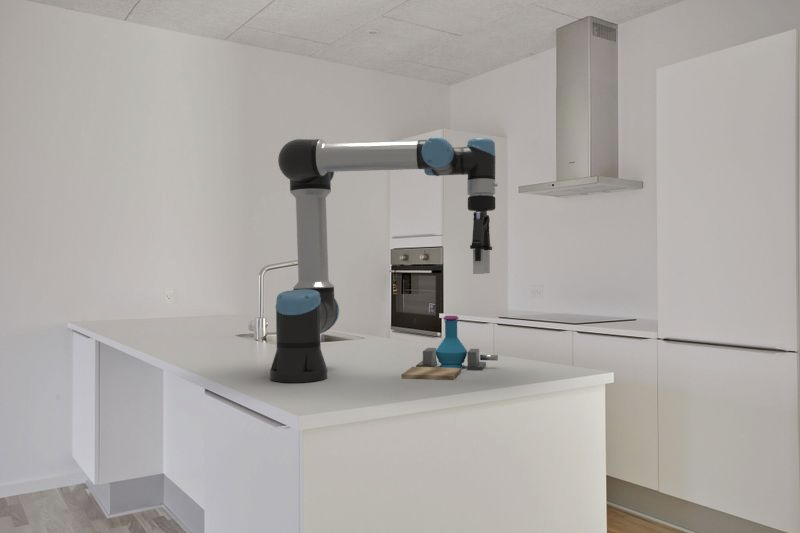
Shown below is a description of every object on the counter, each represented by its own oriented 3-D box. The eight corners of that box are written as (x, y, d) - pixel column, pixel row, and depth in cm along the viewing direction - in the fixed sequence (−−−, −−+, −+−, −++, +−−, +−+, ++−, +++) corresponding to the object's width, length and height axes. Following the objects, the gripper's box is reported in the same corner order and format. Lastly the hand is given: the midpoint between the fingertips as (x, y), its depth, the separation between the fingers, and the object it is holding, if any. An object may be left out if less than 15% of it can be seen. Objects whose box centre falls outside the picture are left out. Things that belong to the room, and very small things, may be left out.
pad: (401, 378, 178) (401, 374, 178) (412, 370, 191) (412, 366, 191) (453, 379, 174) (453, 376, 174) (461, 371, 188) (461, 367, 188)
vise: (416, 368, 194) (415, 351, 194) (422, 363, 204) (422, 347, 204) (496, 370, 189) (496, 353, 189) (499, 365, 199) (499, 348, 199)
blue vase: (446, 363, 203) (446, 314, 203) (472, 366, 198) (472, 315, 198) (429, 367, 196) (429, 316, 196) (456, 370, 190) (456, 317, 190)
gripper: (489, 190, 170) (490, 274, 170) (499, 199, 194) (500, 273, 194) (460, 191, 172) (460, 274, 172) (474, 200, 196) (474, 273, 196)
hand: (481, 273), depth 183 cm, fingers open, 13 cm apart
